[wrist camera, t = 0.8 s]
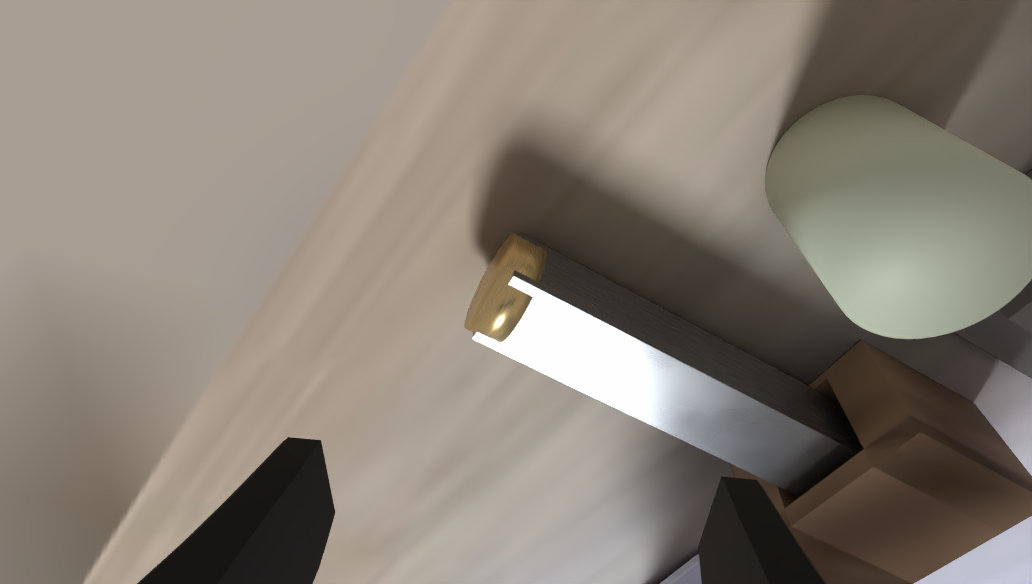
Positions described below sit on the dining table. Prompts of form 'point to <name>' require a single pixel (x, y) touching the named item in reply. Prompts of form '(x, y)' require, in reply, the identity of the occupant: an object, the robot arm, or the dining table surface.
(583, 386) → the shaft
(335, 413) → the dining table surface
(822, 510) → the brown wooden block
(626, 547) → the dining table surface
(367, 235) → the dining table surface
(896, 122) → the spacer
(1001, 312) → the cradle
